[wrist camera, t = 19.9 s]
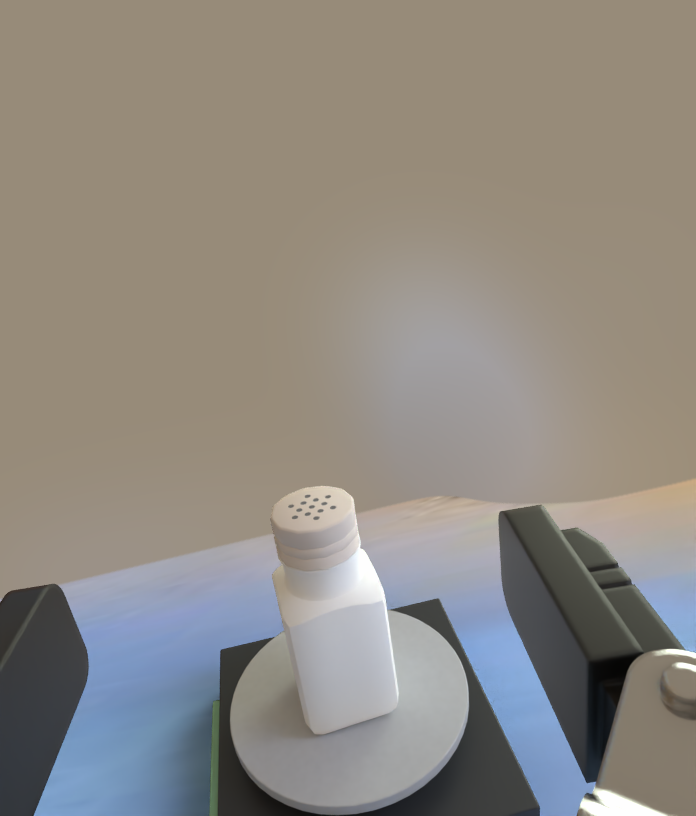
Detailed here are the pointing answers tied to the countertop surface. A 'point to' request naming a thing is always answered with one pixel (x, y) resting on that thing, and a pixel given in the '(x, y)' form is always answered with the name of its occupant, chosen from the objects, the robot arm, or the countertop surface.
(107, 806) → the countertop surface
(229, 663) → the scale
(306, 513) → the salt shaker
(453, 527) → the countertop surface
